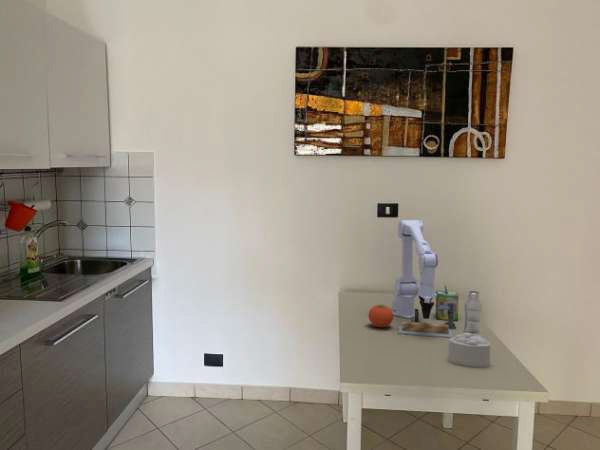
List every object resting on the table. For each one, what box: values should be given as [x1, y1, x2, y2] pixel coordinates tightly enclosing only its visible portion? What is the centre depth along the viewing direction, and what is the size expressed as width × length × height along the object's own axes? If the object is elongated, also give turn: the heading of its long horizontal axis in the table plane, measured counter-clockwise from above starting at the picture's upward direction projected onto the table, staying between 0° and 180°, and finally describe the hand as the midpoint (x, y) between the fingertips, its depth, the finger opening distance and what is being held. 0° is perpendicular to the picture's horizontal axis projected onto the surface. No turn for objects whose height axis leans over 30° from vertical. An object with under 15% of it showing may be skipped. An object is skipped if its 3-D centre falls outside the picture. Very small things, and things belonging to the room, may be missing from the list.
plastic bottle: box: [462, 290, 483, 336], centre depth 182 cm, size 6×7×20 cm
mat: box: [397, 325, 454, 339], centre depth 195 cm, size 21×9×1 cm, turn 78°
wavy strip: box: [402, 321, 450, 334], centre depth 195 cm, size 18×3×3 cm, turn 78°
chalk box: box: [434, 284, 459, 322], centre depth 216 cm, size 9×9×15 cm
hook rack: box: [410, 308, 457, 330], centre depth 204 cm, size 18×6×6 cm, turn 78°
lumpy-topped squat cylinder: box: [447, 332, 491, 368], centre depth 165 cm, size 10×13×9 cm
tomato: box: [368, 304, 394, 328], centre depth 201 cm, size 10×10×10 cm
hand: (425, 315), depth 194 cm, fingers open, 7 cm apart
